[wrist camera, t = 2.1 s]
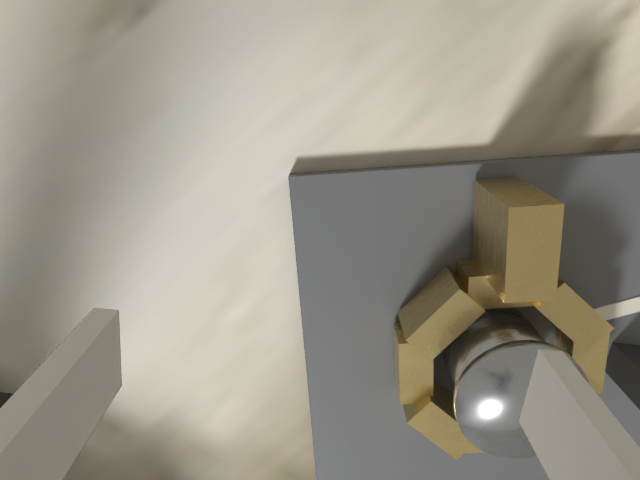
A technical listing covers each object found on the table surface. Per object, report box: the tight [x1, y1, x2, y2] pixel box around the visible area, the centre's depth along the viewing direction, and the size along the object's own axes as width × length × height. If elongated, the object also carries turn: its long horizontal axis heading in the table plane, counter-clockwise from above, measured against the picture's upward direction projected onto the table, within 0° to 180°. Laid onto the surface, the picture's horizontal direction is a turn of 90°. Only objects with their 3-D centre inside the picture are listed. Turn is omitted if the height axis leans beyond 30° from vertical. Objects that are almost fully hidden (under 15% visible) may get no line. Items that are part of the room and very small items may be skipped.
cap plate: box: [289, 150, 640, 480], centre depth 37 cm, size 28×28×6 cm
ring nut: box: [393, 177, 614, 460], centre depth 35 cm, size 20×14×7 cm
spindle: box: [442, 307, 589, 459], centre depth 36 cm, size 8×8×8 cm
